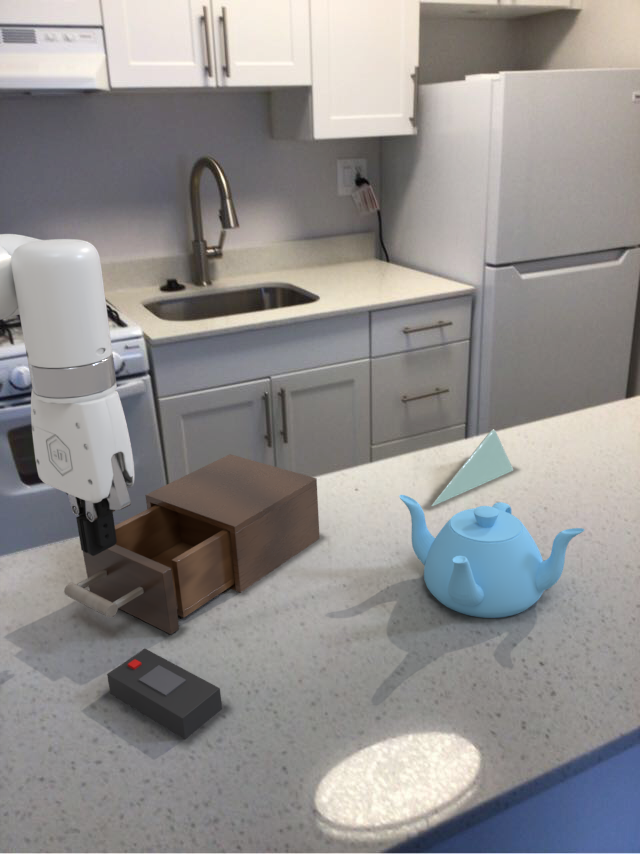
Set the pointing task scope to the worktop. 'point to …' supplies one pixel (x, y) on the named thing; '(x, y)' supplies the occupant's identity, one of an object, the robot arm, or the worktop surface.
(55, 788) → the worktop surface
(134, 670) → the remote
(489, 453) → the pale green wedge
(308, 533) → the cabinet
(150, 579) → the drawer
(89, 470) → the robot arm
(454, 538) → the teapot
